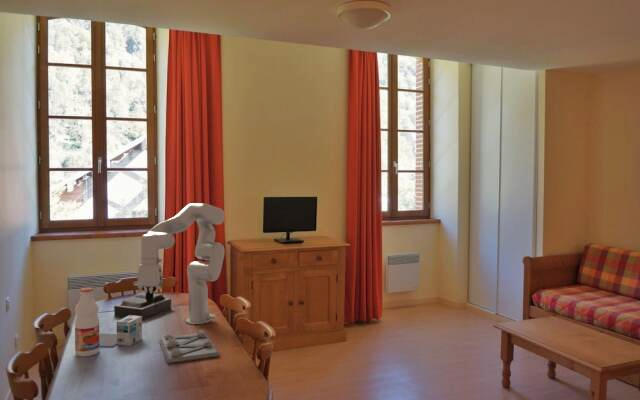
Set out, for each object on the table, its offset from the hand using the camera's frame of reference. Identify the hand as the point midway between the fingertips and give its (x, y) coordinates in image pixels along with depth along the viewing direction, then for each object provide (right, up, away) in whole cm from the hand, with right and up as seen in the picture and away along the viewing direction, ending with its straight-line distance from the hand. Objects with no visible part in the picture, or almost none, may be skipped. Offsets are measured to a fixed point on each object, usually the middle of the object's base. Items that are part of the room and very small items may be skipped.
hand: (149, 301), depth 220 cm
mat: (-21, -19, +3) cm, 28 cm away
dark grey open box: (-20, -17, +48) cm, 55 cm away
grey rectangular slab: (+20, -20, -7) cm, 29 cm away
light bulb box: (-10, -19, +2) cm, 22 cm away
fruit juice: (-22, -20, -13) cm, 32 cm away
